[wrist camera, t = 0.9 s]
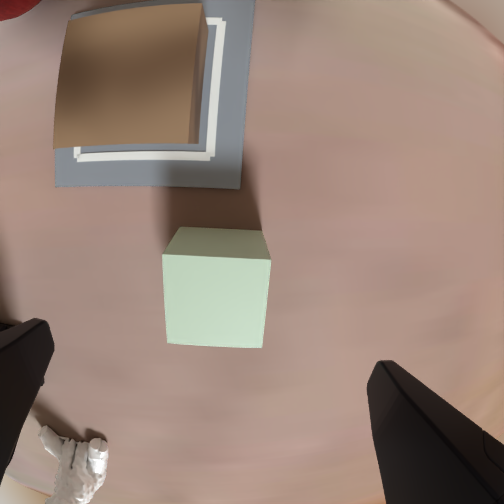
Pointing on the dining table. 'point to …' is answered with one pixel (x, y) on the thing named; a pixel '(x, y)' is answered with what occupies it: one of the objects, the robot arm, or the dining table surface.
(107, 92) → the walnut base
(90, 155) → the blueprint mat
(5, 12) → the onion
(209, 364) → the dining table surface
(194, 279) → the sage block
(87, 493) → the white creature statuette
